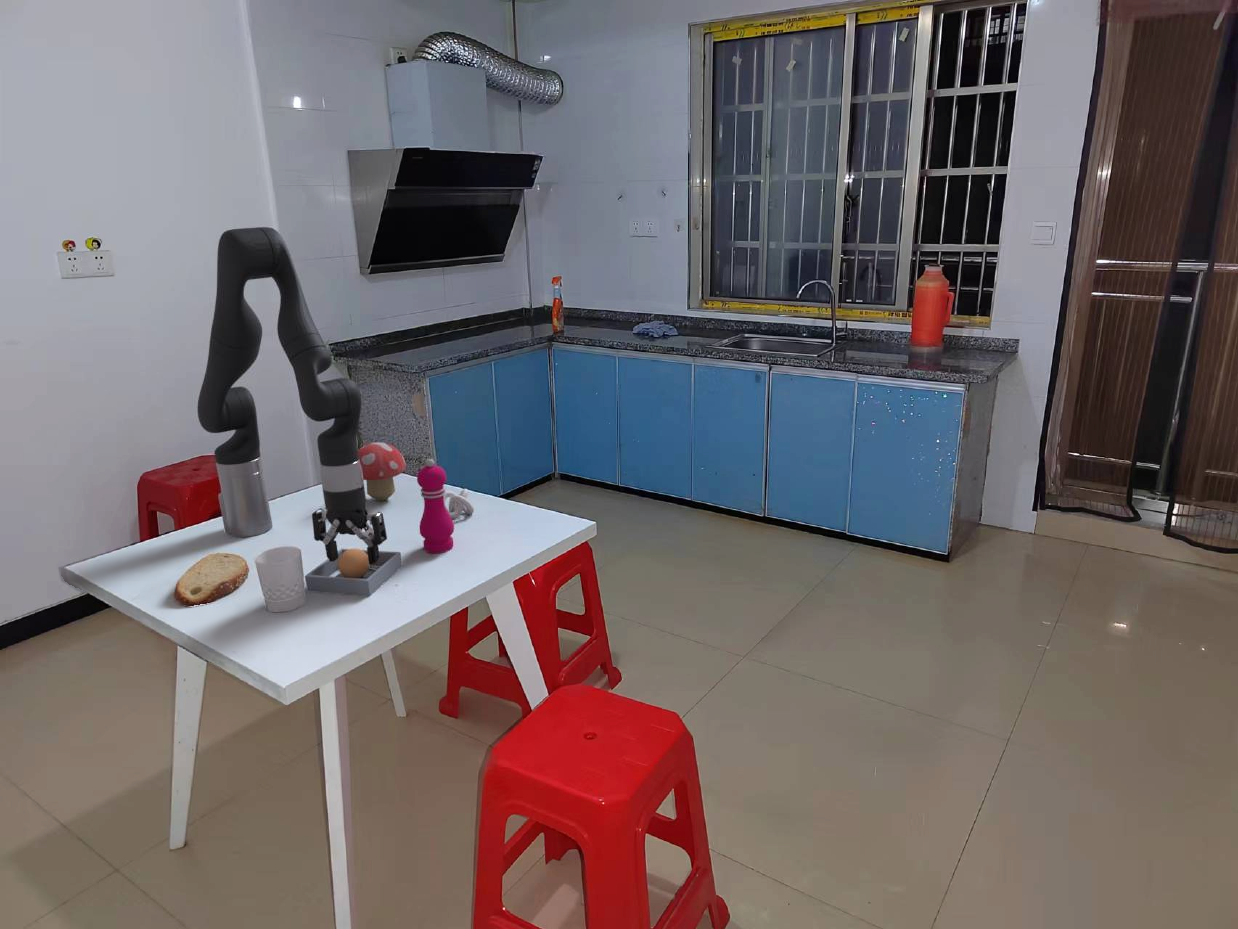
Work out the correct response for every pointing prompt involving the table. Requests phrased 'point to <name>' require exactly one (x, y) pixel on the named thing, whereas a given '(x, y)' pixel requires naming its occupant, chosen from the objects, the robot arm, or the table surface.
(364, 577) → the pad
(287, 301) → the robot arm
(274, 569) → the white cup
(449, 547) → the pepper mill
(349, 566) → the ball
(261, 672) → the table surface
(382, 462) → the decorative mushroom
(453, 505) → the knot
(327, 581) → the corral
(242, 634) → the table surface
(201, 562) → the slice of bread
